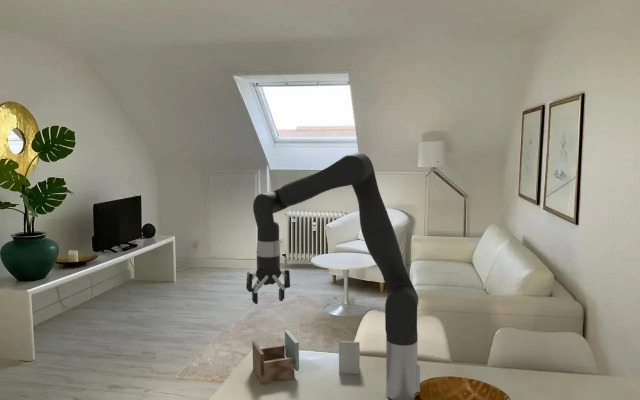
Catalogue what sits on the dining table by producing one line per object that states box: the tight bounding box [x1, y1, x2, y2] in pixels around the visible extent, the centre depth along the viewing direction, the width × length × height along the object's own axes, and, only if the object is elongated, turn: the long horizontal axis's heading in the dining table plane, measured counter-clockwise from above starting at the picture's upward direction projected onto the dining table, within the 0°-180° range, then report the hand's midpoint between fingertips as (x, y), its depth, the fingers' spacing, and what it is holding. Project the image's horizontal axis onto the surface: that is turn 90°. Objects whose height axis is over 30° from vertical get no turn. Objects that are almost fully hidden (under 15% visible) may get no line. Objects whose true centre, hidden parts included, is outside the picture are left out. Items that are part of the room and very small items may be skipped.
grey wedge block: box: [338, 340, 361, 374], centre depth 170 cm, size 4×7×10 cm, turn 84°
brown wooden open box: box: [251, 339, 296, 385], centre depth 168 cm, size 11×12×10 cm
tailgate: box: [284, 329, 300, 372], centre depth 170 cm, size 1×12×10 cm, turn 21°
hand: (268, 302), depth 166 cm, fingers open, 8 cm apart
